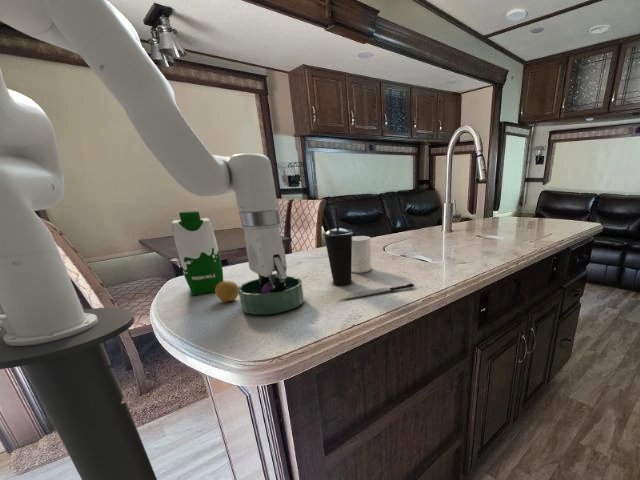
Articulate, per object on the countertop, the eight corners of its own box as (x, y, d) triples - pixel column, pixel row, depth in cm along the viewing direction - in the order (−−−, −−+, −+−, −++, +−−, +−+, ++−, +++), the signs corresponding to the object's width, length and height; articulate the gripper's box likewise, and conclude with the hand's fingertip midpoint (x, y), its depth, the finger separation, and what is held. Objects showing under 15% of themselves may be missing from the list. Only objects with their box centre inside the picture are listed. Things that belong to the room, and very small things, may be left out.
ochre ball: (214, 305, 72) (209, 285, 71) (221, 298, 77) (216, 278, 75) (238, 303, 73) (233, 283, 72) (243, 296, 78) (239, 277, 76)
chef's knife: (339, 297, 77) (343, 300, 74) (339, 292, 76) (342, 295, 74) (409, 285, 84) (414, 287, 82) (409, 280, 84) (414, 283, 81)
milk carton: (188, 297, 78) (165, 214, 71) (189, 288, 85) (168, 211, 78) (228, 290, 82) (210, 211, 75) (225, 282, 89) (208, 209, 82)
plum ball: (260, 307, 69) (257, 285, 67) (264, 300, 74) (262, 279, 72) (284, 305, 70) (282, 284, 68) (287, 298, 75) (285, 278, 73)
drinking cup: (355, 277, 91) (350, 205, 84) (357, 285, 84) (352, 208, 77) (328, 280, 90) (320, 206, 83) (328, 288, 83) (320, 209, 76)
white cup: (361, 274, 94) (359, 241, 90) (341, 271, 98) (339, 239, 94) (377, 268, 100) (375, 237, 97) (357, 265, 104) (355, 235, 101)
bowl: (235, 320, 65) (230, 297, 63) (249, 298, 77) (245, 278, 75) (302, 313, 67) (299, 291, 65) (305, 293, 79) (303, 274, 77)
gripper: (228, 218, 69) (245, 297, 75) (257, 224, 57) (274, 317, 64) (262, 215, 73) (275, 289, 80) (296, 220, 62) (308, 306, 68)
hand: (275, 300), depth 72 cm, fingers closed on plum ball, 4 cm apart
